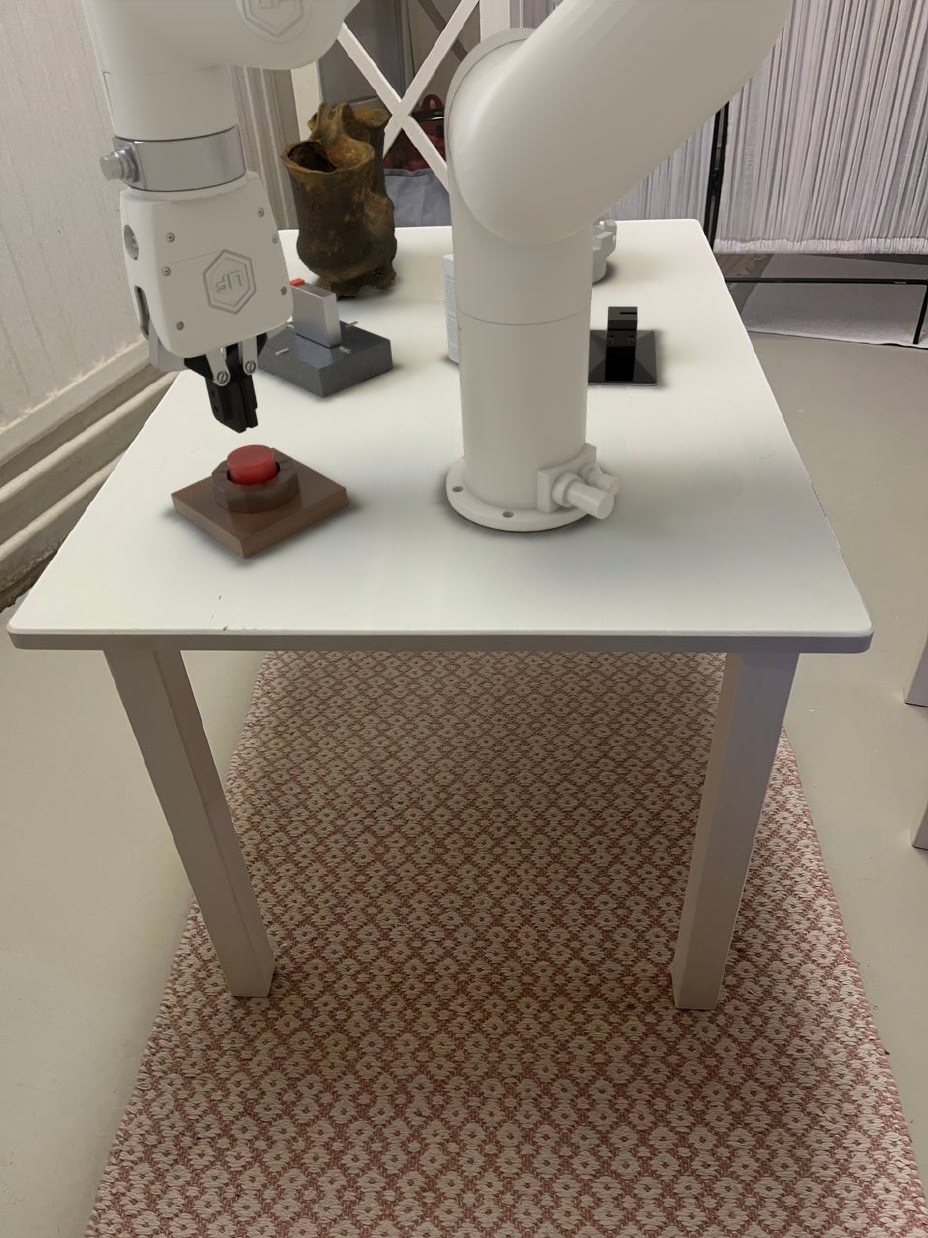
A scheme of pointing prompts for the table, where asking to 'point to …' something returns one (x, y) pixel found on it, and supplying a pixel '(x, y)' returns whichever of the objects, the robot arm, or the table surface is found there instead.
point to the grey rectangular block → (315, 313)
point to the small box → (450, 306)
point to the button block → (259, 505)
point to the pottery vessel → (343, 200)
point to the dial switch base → (326, 359)
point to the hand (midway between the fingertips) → (238, 423)
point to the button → (252, 464)
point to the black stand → (622, 351)
